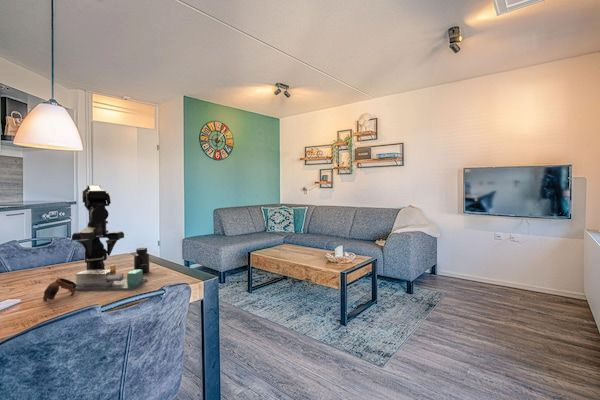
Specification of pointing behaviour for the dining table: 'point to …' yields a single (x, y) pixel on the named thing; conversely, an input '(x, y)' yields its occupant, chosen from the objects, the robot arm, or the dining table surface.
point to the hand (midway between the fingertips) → (99, 255)
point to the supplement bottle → (141, 260)
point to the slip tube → (114, 274)
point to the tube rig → (98, 281)
